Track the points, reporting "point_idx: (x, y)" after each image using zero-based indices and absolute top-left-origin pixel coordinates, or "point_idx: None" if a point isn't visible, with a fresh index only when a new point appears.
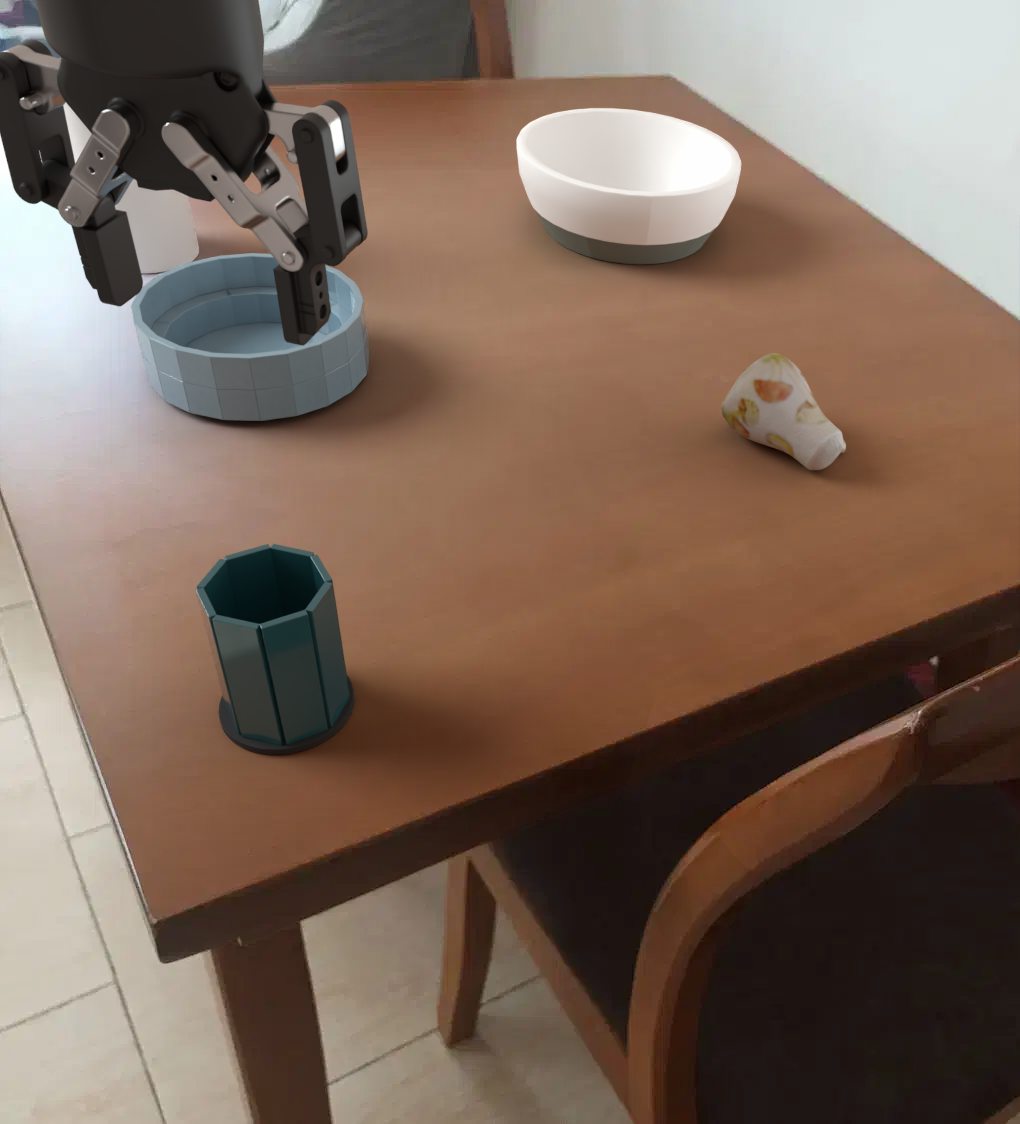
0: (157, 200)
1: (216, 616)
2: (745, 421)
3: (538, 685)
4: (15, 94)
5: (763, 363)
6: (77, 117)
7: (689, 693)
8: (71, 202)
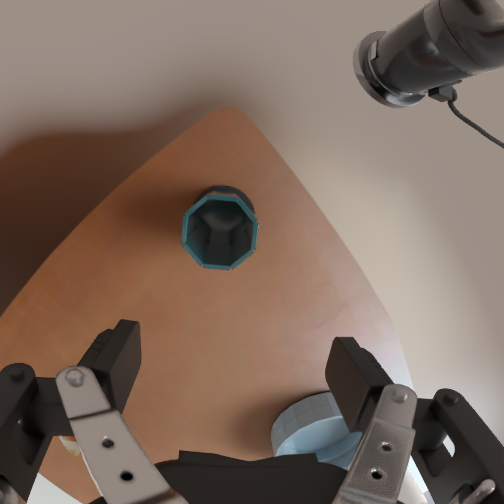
0: None
1: (235, 199)
2: None
3: (112, 254)
4: (500, 488)
5: (75, 449)
6: (415, 492)
7: (53, 262)
8: (404, 404)
